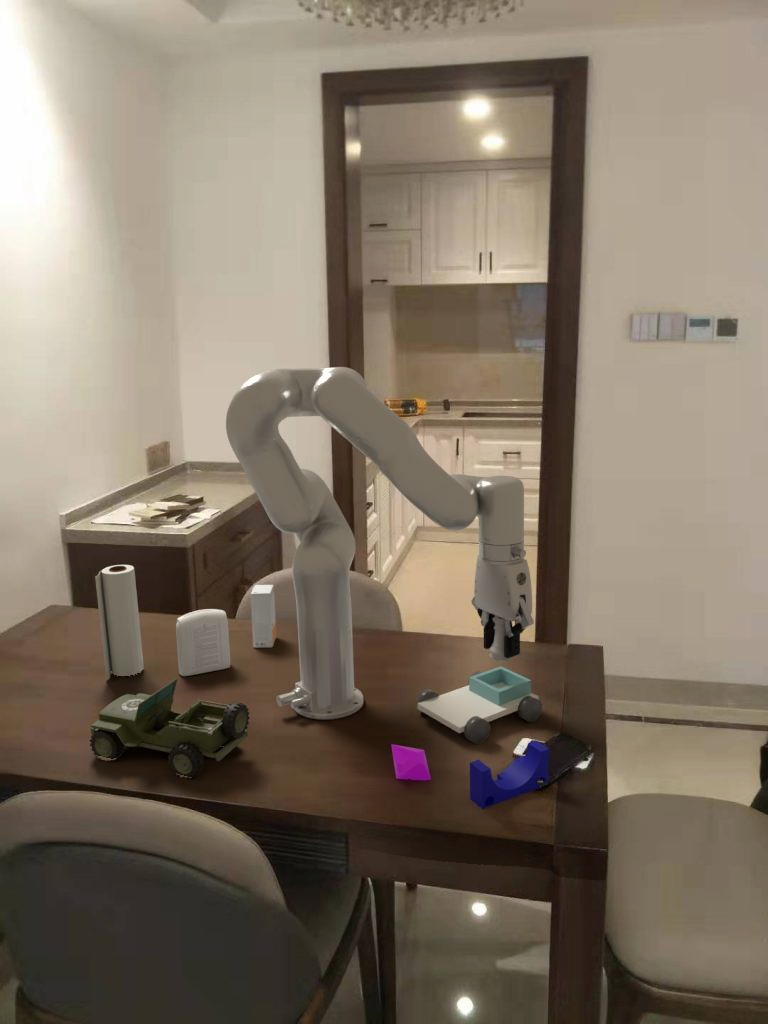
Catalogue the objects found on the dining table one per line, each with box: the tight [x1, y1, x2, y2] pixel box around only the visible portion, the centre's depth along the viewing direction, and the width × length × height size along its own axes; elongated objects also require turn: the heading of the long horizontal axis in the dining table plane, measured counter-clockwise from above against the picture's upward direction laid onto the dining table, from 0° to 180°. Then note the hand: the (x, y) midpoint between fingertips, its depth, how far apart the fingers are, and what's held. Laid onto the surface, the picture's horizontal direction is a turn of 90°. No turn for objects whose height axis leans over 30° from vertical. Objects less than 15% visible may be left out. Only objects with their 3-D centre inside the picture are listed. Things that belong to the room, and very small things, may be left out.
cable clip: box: [469, 740, 550, 810], centre depth 128 cm, size 12×4×6 cm, turn 120°
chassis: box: [415, 666, 543, 745], centre depth 151 cm, size 18×15×6 cm
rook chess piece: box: [488, 615, 515, 663], centre depth 151 cm, size 4×4×8 cm
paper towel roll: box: [94, 564, 145, 680], centre depth 170 cm, size 7×6×21 cm
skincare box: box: [249, 584, 277, 649], centre depth 184 cm, size 6×4×12 cm
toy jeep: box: [89, 677, 250, 778], centre depth 140 cm, size 12×25×11 cm, turn 68°
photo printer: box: [175, 608, 231, 677], centre depth 171 cm, size 10×4×12 cm, turn 116°
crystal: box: [390, 743, 432, 781], centre depth 133 cm, size 5×5×5 cm
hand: (501, 650), depth 152 cm, fingers closed on rook chess piece, 4 cm apart
